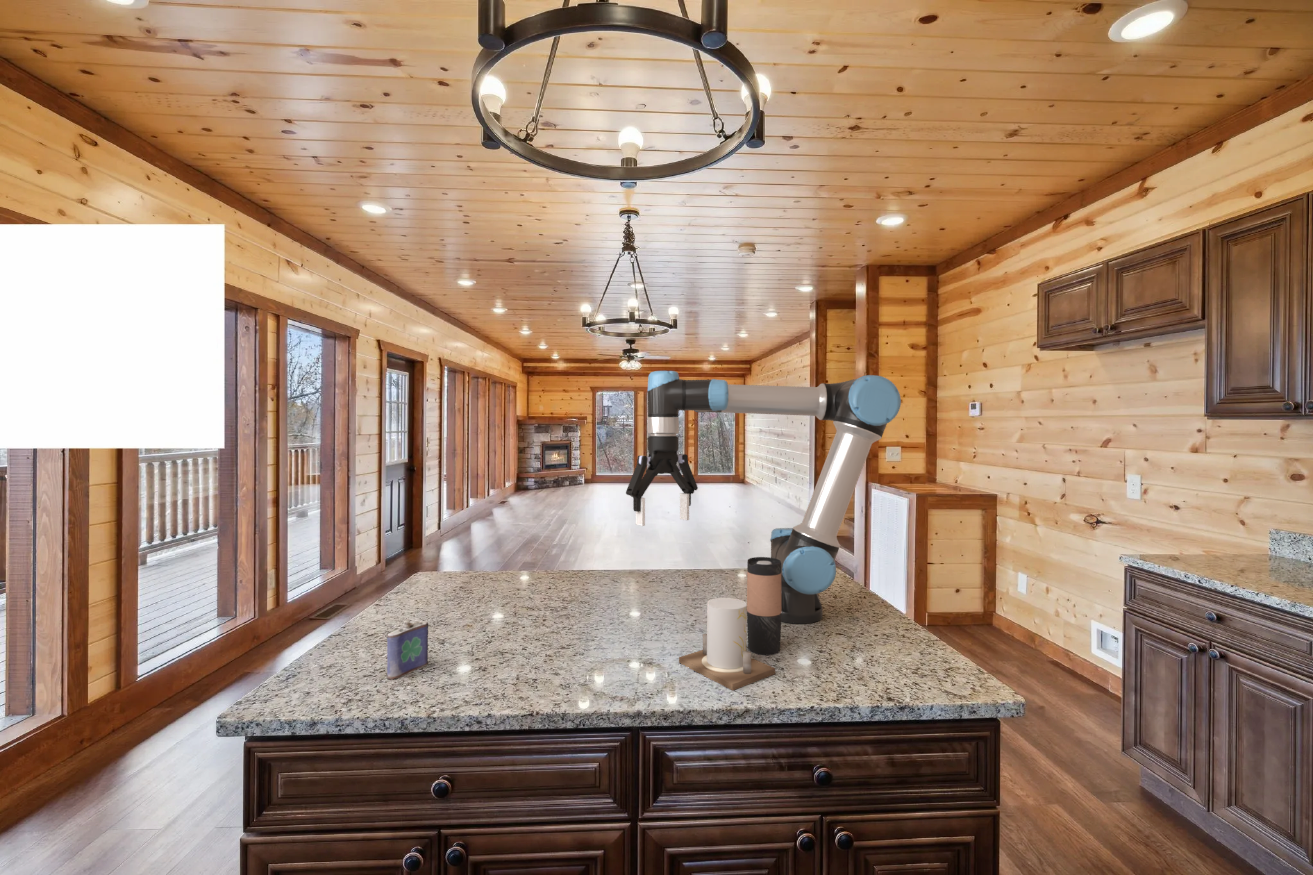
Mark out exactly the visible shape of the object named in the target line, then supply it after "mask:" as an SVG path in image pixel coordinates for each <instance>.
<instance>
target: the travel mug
mask: <svg viewBox="0 0 1313 875" xmlns="http://www.w3.org/2000/svg"><path fill="white" fill-rule="evenodd" d="M746 565H747V569H746V570H747V571H746V572H747V575H746V576H747V578H746V580H747V581H746V603H747V649H748V651H750V652H751V653H752V654H756V655H759V656H773V655H776V654H778V653H780V651H781V636H782V633H781V632H782V622H781V561H780V560H778V559H775V558H771V556H770V557H768V556H767V557H766V556H756V557H750V558H748V559H747V564H746Z"/></svg>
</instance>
